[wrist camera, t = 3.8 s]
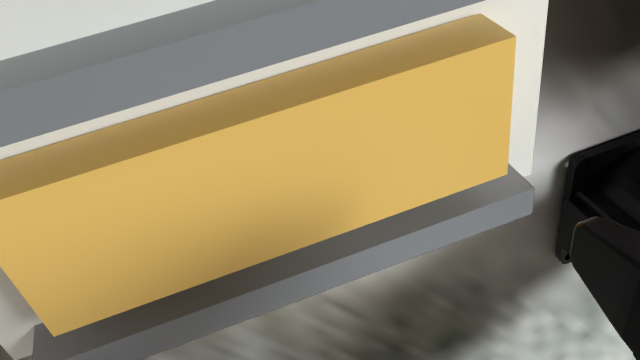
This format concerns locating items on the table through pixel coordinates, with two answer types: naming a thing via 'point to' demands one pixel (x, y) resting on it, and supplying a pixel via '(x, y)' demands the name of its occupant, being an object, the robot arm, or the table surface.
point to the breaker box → (213, 78)
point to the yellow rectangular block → (254, 172)
